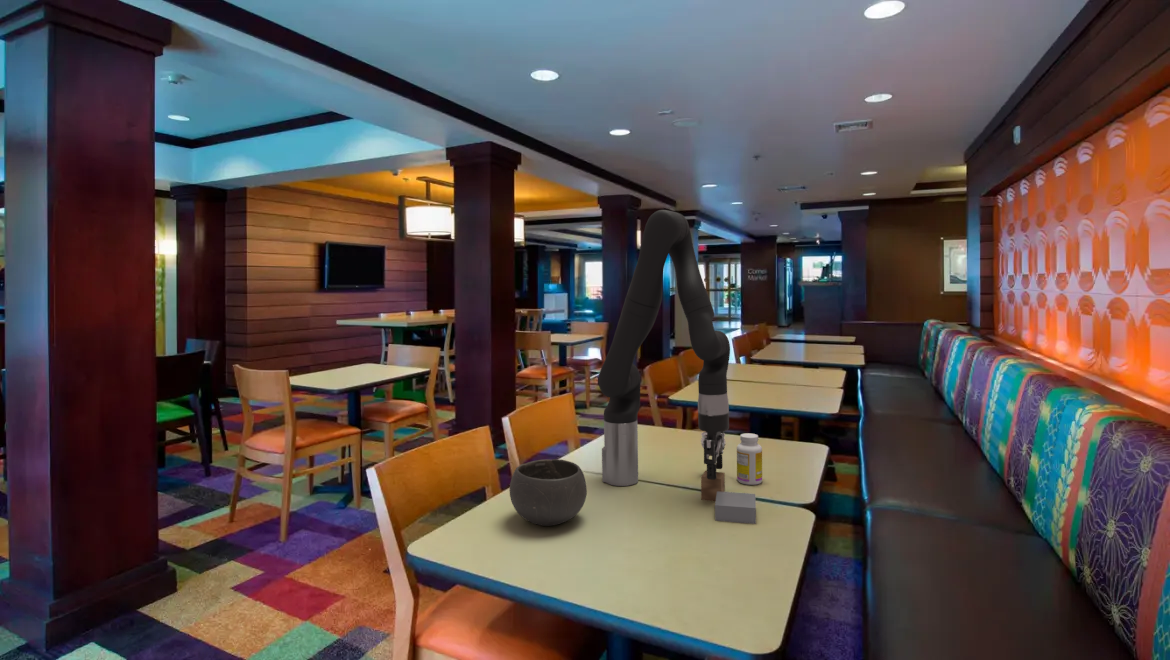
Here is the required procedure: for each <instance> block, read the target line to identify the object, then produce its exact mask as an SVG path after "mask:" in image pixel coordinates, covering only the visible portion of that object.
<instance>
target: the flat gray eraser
mask: <svg viewBox="0 0 1170 660" xmlns="http://www.w3.org/2000/svg"><path fill="white" fill-rule="evenodd" d="M714 503H715V504H714V520H715V521H717V522H727V523H729V522H730V523H740V524H752V525H753V524H755V525H756V524H757V521H756V520H757V519H756V517H757V505H756V504H757V503H756V494H755V493H747V492H746V493H745V492H744V493H743V492H733V491H731V492H729V491H725V492H720V491H717V495H716V502H715V501H714Z"/></svg>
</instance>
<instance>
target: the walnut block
mask: <svg viewBox="0 0 1170 660" xmlns="http://www.w3.org/2000/svg"><path fill="white" fill-rule="evenodd" d="M725 474H726V473H725V472H720V471H716V476H717V477H716V479H715V480H710V479H708V478H707V470H705V471H704V472H703V474H702V475H701V476H700V498H701V500H702V501H707V502H708V501H709V502H714V503H715V502H716V495H717V491H720V492H726V485H725V483H726V481H725V480H726V478H725V476H726V475H725Z"/></svg>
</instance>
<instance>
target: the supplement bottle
mask: <svg viewBox="0 0 1170 660" xmlns="http://www.w3.org/2000/svg"><path fill="white" fill-rule="evenodd" d="M739 439H740V443H738V444H737V446H736V480H737V482H739V483H740V484H743V485H747V486H755V485H760V484H761V483H762V482H763V448H762V446H761V445H760V444H759V443H758V442H759V435H758V434H755V433H748V432H747V433H740V435H739Z"/></svg>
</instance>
